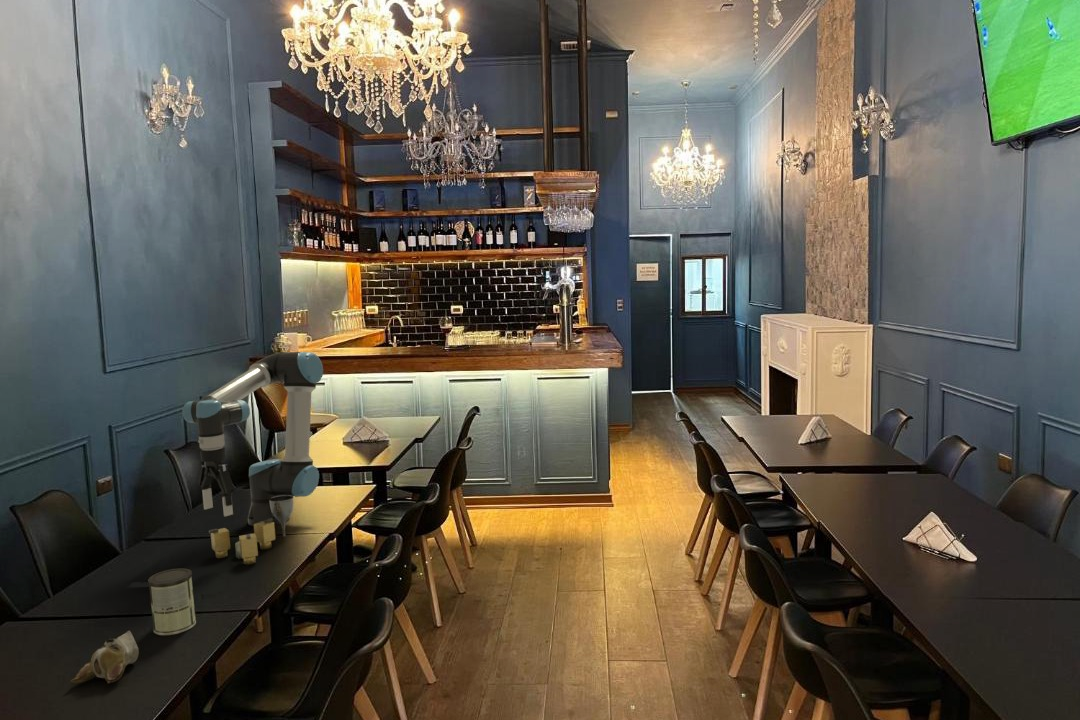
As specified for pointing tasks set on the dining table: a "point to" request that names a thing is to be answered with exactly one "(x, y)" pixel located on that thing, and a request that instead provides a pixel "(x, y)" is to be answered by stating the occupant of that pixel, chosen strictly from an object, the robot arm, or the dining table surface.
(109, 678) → the ceramic sculpture
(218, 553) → the knob
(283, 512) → the grey funnel
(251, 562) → the knob
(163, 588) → the coffee can
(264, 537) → the knob
